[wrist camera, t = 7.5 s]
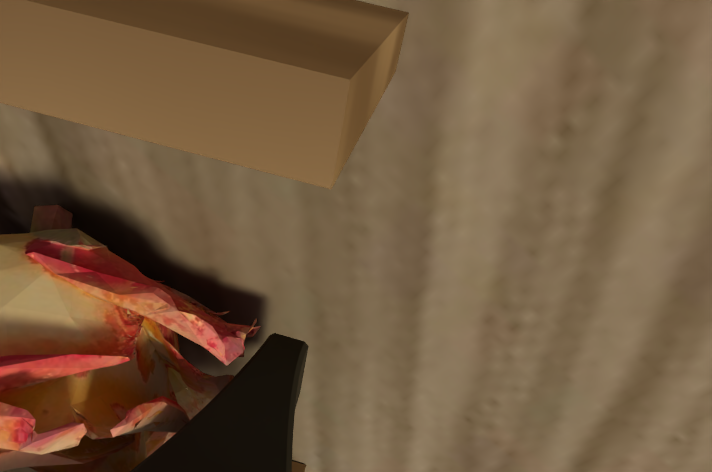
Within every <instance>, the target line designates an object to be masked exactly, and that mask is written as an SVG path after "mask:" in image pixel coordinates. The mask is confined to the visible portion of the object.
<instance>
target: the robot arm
mask: <svg viewBox="0 0 712 472" xmlns="http://www.w3.org/2000/svg"><path fill="white" fill-rule="evenodd" d="M307 351H308V345H307V344H306V343H305V342H304V341H301V340H297V339H294V338H290V337H287V336H283V335H279V334H276V333H274V334H272V335H270V336H269V337H268V338H267V340H266V341H265V342H264V344H263V345H262V346H261V347H260V349H259V350H258V351H257V352H256V353H255V355H254V356H253V357H252V358H251V359H250V360H249V362H248V363H247V364H246V365H245V366H244V367H243V368H242V369H241V370H240V371H239V373H238V374H237V375H236V376H235V377H234V378H233V379H232V380H231V381H230V382H229V383H228V384H227V385H226V386H225V387H224V388H223V389H222V390H221V391H220V392H219V393H218V394H217V395H216V396H215V397H214V398H213V399H212V400H211V401H210V402H209V403H208V404H207V405H206V406H205V407H204V408H203V409H202V410H201V411H200V412H199V413H197V414H196V415H195V416H194V417H193V418H192V419H191V420H190V421H189V422H188V423H187V424H185V425H184V426H183V427H182V428H181V429H180V430H179V431H178V432H177V433H176V434H174V435H173V436H172V437H171V438H170V439H169V440H168V441H166V442H165V443H164V444H163V445H162V446H160V447H159V448H158V449H157V450H156V451H154V452H153V453H152V454H151V455H150V456H148V457H147V458H146V459H145V460H143V461H142V462H141V463H140V464H138V465H137V466H136V467H135V468H133V469H132V470H131V471H130V472H292V442H293V426H294V413H295V407H296V404H297V401H298V397H299V394H300V389H301V384H302V378H303V373H304V368H305V362H306V357H307Z"/></svg>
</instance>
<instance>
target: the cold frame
mask: <svg viewBox="0 0 712 472" xmlns="http://www.w3.org/2000/svg"><path fill="white" fill-rule="evenodd" d="M408 14H409V13H408V12H403V11H399V10H395V9H391V8H386V7H382V6H378V5H374V4H369V3H365V2H361V1H356V0H0V103H3V104H7V105H11V106H15V107H19V108H22V109H26V110H30V111H34V112H38V113H42V114H45V115H49V116H53V117H57V118H61V119H64V120H68V121H72V122H76V123H80V124H84V125H87V126H91V127H95V128H99V129H103V130H107V131H110V132H114V133H118V134H122V135H126V136H129V137H133V138H137V139H141V140H145V141H149V142H152V143H156V144H160V145H164V146H168V147H172V148H175V149H179V150H183V151H187V152H191V153H195V154H198V155H202V156H206V157H210V158H214V159H217V160H221V161H225V162H229V163H233V164H237V165H240V166H244V167H248V168H252V169H256V170H260V171H263V172H267V173H271V174H275V175H279V176H282V177H286V178H290V179H294V180H298V181H302V182H305V183H309V184H313V185H317V186H321V187H325V188H328V189H332V187H333V185H334V183H335V181H336V180H337V178H338V176H339V174H340V172H341V170H342V169H343V167H344V165H345V163H346V161H347V159H348V158H349V156H350V154H351V152H352V150H353V148H354V147H355V145H356V143H357V141H358V139H359V137H360V136H361V134H362V132H363V130H364V128H365V126H366V125H367V123H368V121H369V119H370V117H371V115H372V114H373V112H374V110H375V108H376V106H377V104H378V103H379V101H380V99H381V97H382V95H383V93H384V92H385V90H386V88H387V86H388V84H389V82H390V81H391V79H392V77H393V75H394V73H395V71H396V67H397V63H398V58H399V54H400V49H401V45H402V41H403V36H404V32H405V27H406V23H407V19H408ZM305 467H306V465H304V464H300V463H297V462H294V461H292V472H305Z"/></svg>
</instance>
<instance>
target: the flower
mask: <svg viewBox="0 0 712 472" xmlns="http://www.w3.org/2000/svg"><path fill="white" fill-rule="evenodd" d="M72 215H73V214H72V213H70V212H69V211H67V210H65V209H64V208H62V207H60V206H59V205H45V206H34V212H33V218H32V223H31V229H30V233H24V234H2V235H0V472H130V471H131V470H132V469H133V468H135V467H136V466H137V465H138V464H140V463H141V462H142V461H143V460H145V459H146V458H147V457H148V456H150V455H151V454H152V453H153V452H154V451H156V450H157V449H158V448H159V447H160V446H162V445H163V444H164V443H165V442H166V441H168V440H169V439H170V438H171V437H172V436H173V435H174V434H176V433H177V432H178V431H179V430H180V429H181V428H182V427H183V426H184V425H185V424H187V423H188V422H189V421H190V420H191V419H192V418H193V417H194V416H195V415H196V414H197V413H199V412H200V411H201V410H202V409H203V408H204V407H205V406H206V405H207V404H208V403H209V402H210V401H211V400H212V399H213V398H214V397H215V396H216V395H217V394H218V393H219V392H220V391H221V390H222V389H223V388H224V387H225V386H226V385H227V384H228V383H229V382H230V381H231V380H232V379H233V378H234V376H233V375H223V376H217V377H214V376H211V375H208V374H205V373H202V372H201V371H200V370H199V369H197V368H195V367H194V366H193V365H192V364H190V363H189V362H188V361H186V360H185V359H184V358H183V357H182V356H181V355H180V351H179V343H178V336H177V333H179V334H180V335H182V336H184V337H186V338H188V339H190V340H191V341H193V342H195V343H197V344H199V345H201V346H203V347H204V348H205V349H207V350H208V351H209V352H210V353H212V354H213V355H214V356H215V357H217V358H218V359H219V360H220V361H221V362H223V363H224V364H225V365H226V366H227V365H228V364H230V363H231V362H232V361H233V360H234V359H236V358H237V357H244V350H245V347H244V340H245V338H246V337H253V336H254V335H255V333H256V332H257V331H258V329H259V328H260V327H261V326H258V327H253V326H254V325H255V324H256V322H257V318H256V319H255V321H254V322H253V324H252V325H251V326H248V325H238V324H230V323H227V322H226V321H224V320H222V319H221V318H219V317H218V316H216V315H225V314H227V313H228V312H230V311H226V312H220V313H215V312H213V311H212V310H210V309H209V308H207V307H205V306H204V305H202V304H201V303H199V302H197V301H196V300H194V299H193V298H191V297H189V296H188V295H186V294H183V293H181V292H179V291H177V290H175V289H172V288H171V287H168V286H166V285H164V284H161V283H160V282H163V281H155V280H152V279H149V278H148V277H146V276H144V275H143V274H142V273H141V272H140V271H139V270H138V269H137V268H136V267H135V266H134V265H132V264H130V263H129V262H127V261H125V260H124V259H122V258H120V257H119V256H117V255H115V254H114V253H112V252H110V251H109V250H108V248H107V247H106V246H104V245H103V244H101V243H100V242H98V241H96V240H95V239H93V238H92V237H90V236H88V235H87V234H85V233H83V232H82V231H80V230H79V229H77V228H76V229H71V228H72ZM164 281H165V280H164ZM206 313H209V314H210V315H211V316H212V317H211V316H210V315H208V314H206ZM176 332H177V333H176ZM185 388H188V390H187V389H185ZM190 396H191V397H190Z"/></svg>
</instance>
